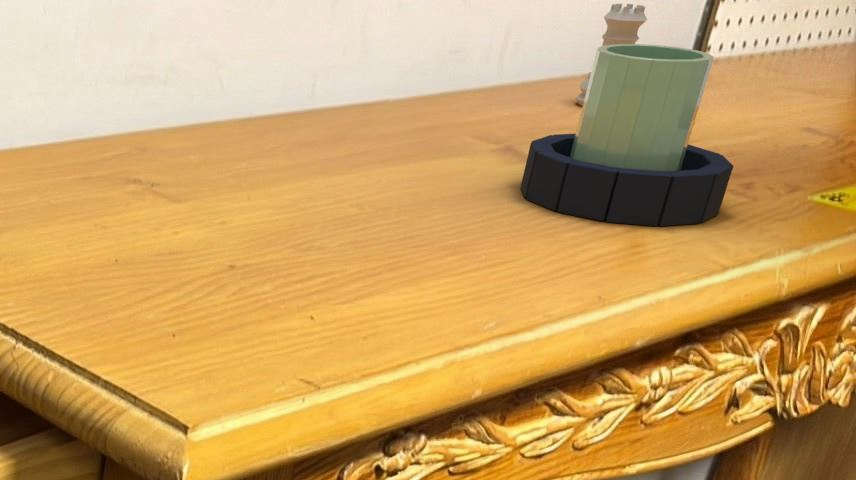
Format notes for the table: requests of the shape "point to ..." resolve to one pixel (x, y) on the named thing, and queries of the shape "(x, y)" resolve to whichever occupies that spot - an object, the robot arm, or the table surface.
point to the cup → (641, 106)
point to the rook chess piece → (618, 32)
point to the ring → (625, 186)
